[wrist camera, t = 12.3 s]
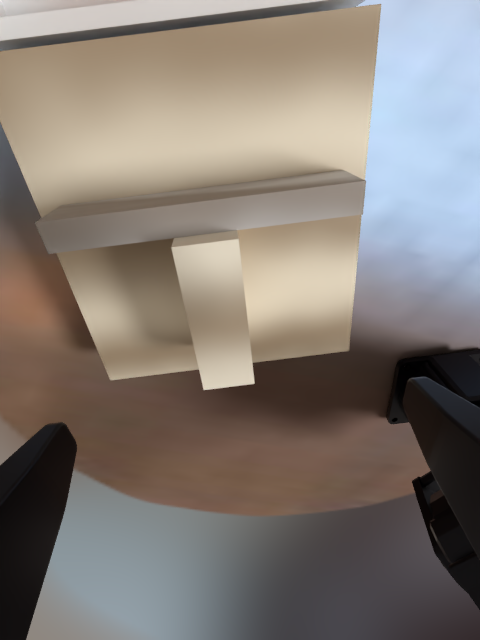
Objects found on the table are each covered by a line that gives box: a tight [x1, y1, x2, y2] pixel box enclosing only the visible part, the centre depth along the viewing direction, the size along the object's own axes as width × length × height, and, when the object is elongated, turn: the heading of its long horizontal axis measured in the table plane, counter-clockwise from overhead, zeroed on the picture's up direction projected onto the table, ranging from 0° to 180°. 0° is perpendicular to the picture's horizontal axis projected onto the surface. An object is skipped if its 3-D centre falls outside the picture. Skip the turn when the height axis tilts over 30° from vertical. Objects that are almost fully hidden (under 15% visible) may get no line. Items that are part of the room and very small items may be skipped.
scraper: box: [35, 170, 366, 390], centre depth 15 cm, size 8×12×4 cm
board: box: [0, 4, 381, 380], centre depth 17 cm, size 15×14×3 cm
